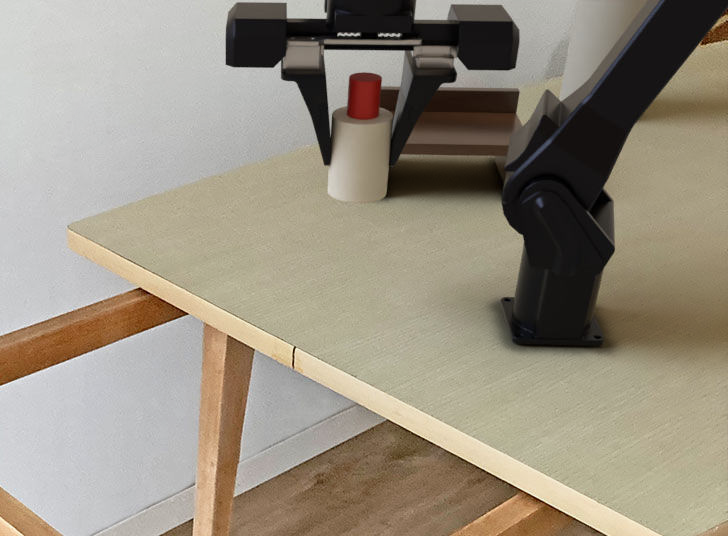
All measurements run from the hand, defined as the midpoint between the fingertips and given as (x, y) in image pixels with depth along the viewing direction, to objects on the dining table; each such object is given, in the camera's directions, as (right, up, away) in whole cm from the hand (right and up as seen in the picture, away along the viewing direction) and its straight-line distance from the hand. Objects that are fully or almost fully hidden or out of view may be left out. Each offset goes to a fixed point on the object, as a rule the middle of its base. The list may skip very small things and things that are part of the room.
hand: (359, 164), depth 76 cm
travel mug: (+31, +19, +42) cm, 56 cm away
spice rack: (+11, +7, +27) cm, 30 cm away
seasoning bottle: (0, -2, +1) cm, 2 cm away
